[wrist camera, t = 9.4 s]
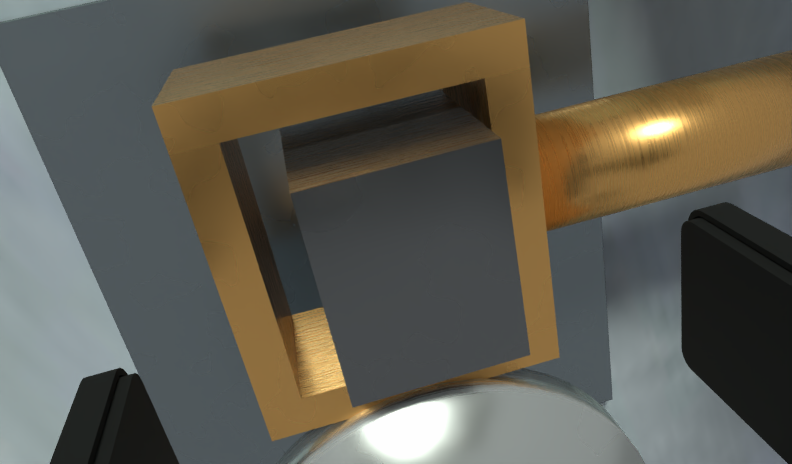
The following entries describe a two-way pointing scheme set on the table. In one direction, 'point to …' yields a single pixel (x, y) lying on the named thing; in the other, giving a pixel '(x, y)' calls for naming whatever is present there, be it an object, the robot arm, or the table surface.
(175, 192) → the ringlock standard
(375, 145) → the grey rectangular block
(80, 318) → the table surface
